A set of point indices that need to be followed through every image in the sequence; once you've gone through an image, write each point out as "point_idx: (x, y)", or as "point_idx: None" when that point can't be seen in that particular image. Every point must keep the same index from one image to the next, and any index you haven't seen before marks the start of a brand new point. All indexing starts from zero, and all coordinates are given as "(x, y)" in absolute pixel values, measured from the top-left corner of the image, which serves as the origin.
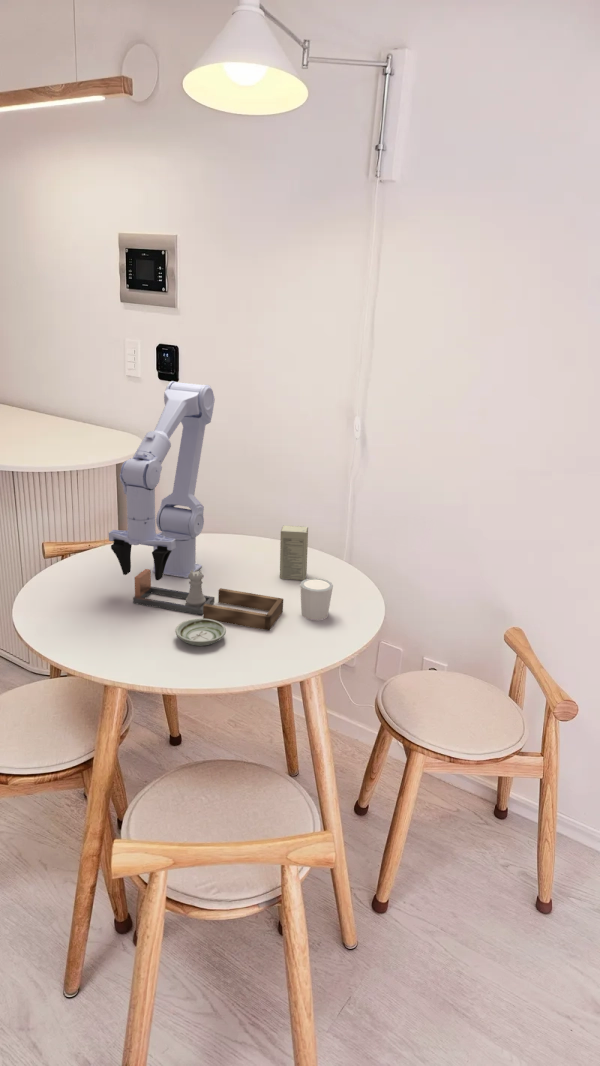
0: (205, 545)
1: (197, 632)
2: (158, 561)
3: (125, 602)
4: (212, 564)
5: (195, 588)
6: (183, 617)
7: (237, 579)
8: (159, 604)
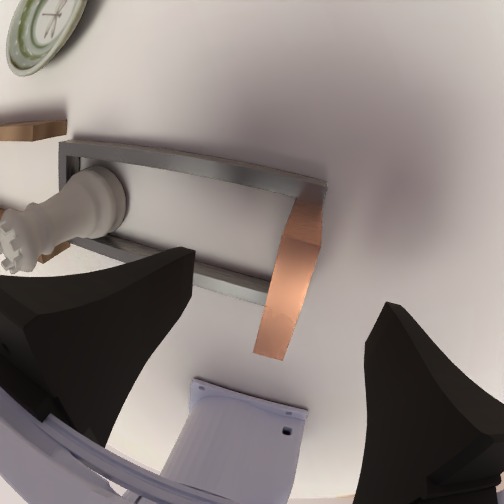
0: None
1: (59, 25)
2: (72, 281)
3: (362, 188)
4: (177, 426)
5: (43, 202)
6: (111, 107)
7: None
8: (197, 156)
